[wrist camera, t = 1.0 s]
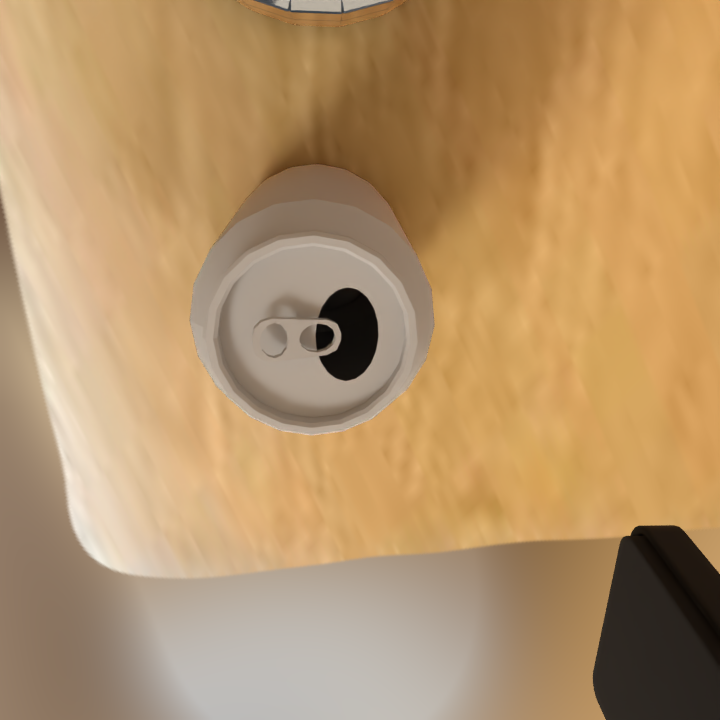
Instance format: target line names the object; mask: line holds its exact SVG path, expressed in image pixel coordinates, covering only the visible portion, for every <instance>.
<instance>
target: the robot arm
mask: <svg viewBox="0 0 720 720" xmlns="http://www.w3.org/2000/svg"><path fill="white" fill-rule="evenodd" d="M593 686H594V691H595V695H596V698H597V701H598V703H599V705H600V708H601V710H602V712H603V714H604V717H605V719H606V720H720V574H719V573H718V571H717V570H716V569H715V568H714V567H713V566H712V564H711V563H710V562H709V561H708V559H707V558H706V557H705V556H704V555H703V554H702V552H701V551H700V550H699V549H698V547H697V546H696V545H695V544H694V543H693V541H692V540H691V539H690V538H689V537H688V535H687V534H686V533H685V532H684V531H683V530H682V529H681V528H680V527H678V526H675V525H669V526H637V527H635V528H634V530H633V531H632V533H631V536H625V537H623V538H622V540H621V542H620V546H619V550H618V556H617V561H616V565H615V570H614V574H613V579H612V584H611V589H610V594H609V599H608V603H607V608H606V614H605V618H604V623H603V627H602V632H601V637H600V642H599V647H598V652H597V656H596V661H595V666H594V671H593Z"/></svg>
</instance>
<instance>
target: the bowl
mask: <svg viewBox="0 0 720 720" xmlns="http://www.w3.org/2000/svg"><path fill="white" fill-rule="evenodd" d="M236 1H238V2H239V3H241V4H242V5H244V6H245V7H246V8H248V9H249V10H252V11H254V12H257V13H260V14H263V15H266V16H269V17H272V18H275V19H278V20H281V21H284V22H287V23H290V24H293V25H294V24H296V25H298V26H327V27H339V26H340V27H342V26H346V25H349V24H353V23H357V22H361V21H365V20H368V19H372V18H376V17H380V16H382V15H383V14H386V13H388V12H390V11H391V10H393V9H395V8H396V7H398V6H400V5H401V4H403V3H405V2H406V1H408V0H236Z"/></svg>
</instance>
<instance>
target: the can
mask: <svg viewBox="0 0 720 720" xmlns="http://www.w3.org/2000/svg"><path fill="white" fill-rule="evenodd" d="M190 324H191V328H192V332H193V337H194V341H195V345H196V349H197V354H198V357H199V358H200V360H201V362H202V363H203V365H204V367H205V368H206V370H207V372H208V373H209V375H210V376H211V378H212V380H213V381H214V383H215V385H216V386H217V387H218V388H219V389H220V390H221V391H222V392H223V393H224V394H225V395H226V396H227V397H228V398H229V399H230V400H231V401H232V402H234V403H235V404H236V405H237V406H238V407H239V408H240V409H242V410H243V411H244V412H245V413H246V414H247V415H248V416H250V417H251V418H253V419H255V420H258V421H260V422H262V423H264V424H266V425H268V426H271V427H273V428H275V429H277V430H279V431H286V432H292V433H299V434H306V435H318V434H326V433H334V432H342V431H345V430H347V429H350V428H352V427H354V426H357V425H359V424H361V423H364V422H366V421H368V420H370V419H373V418H374V417H375V416H376V415H377V414H379V413H380V412H381V411H382V410H383V409H385V408H386V407H387V406H388V405H389V404H390V403H392V402H393V401H394V400H395V399H396V398H397V397H399V396H400V395H401V394H402V393H403V392H405V391H406V390H407V389H408V387H409V385H410V384H411V382H412V381H413V379H414V378H415V376H416V374H417V373H418V371H419V370H420V368H421V367H422V365H423V363H424V362H425V360H426V357H427V353H428V349H429V345H430V341H431V337H432V333H433V329H434V313H433V301H432V289H431V287H430V285H429V282H428V280H427V278H426V275H425V273H424V271H423V269H422V266H421V264H420V262H419V259H418V257H417V255H416V253H415V251H414V249H413V248H412V246H411V244H410V242H409V240H408V238H407V237H406V235H405V233H404V231H403V229H402V227H401V226H400V224H399V222H398V220H397V218H396V216H395V215H394V213H393V211H392V209H391V207H390V206H389V204H388V203H387V201H386V200H385V199H384V198H383V197H382V196H381V195H380V194H379V193H378V191H377V190H376V189H375V188H374V187H373V186H372V185H371V184H370V183H369V182H367V181H365V180H364V179H362V178H360V177H358V176H357V175H355V174H353V173H351V172H350V171H348V170H346V169H342V168H337V167H332V166H327V165H322V164H312V165H305V166H297V167H290V168H288V169H286V170H284V171H282V172H280V173H278V174H276V175H274V176H272V177H270V178H268V179H266V180H264V181H263V182H262V183H261V184H260V185H259V186H258V187H257V188H256V189H255V190H254V191H253V192H252V193H251V194H250V195H249V196H248V197H247V198H246V200H245V201H244V202H243V204H242V205H241V207H240V208H239V209H238V211H237V212H236V214H235V215H234V217H233V218H232V219H231V221H230V222H229V224H228V225H227V226H226V228H225V229H224V231H223V232H222V234H221V235H220V236H219V238H218V239H217V241H216V242H215V243H214V245H213V246H212V248H211V249H210V251H209V253H208V255H207V257H206V259H205V261H204V263H203V266H202V268H201V270H200V272H199V274H198V276H197V278H196V280H195V282H194V286H193V295H192V305H191V314H190Z"/></svg>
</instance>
